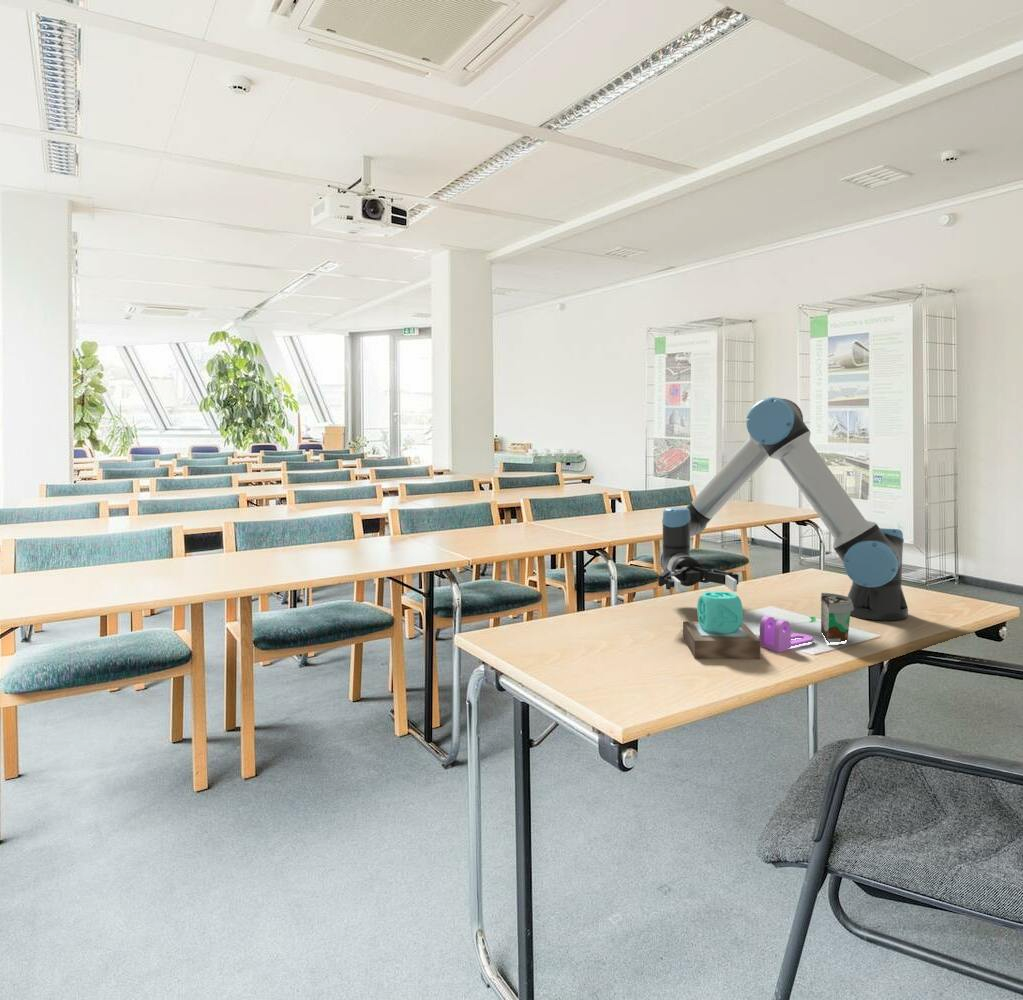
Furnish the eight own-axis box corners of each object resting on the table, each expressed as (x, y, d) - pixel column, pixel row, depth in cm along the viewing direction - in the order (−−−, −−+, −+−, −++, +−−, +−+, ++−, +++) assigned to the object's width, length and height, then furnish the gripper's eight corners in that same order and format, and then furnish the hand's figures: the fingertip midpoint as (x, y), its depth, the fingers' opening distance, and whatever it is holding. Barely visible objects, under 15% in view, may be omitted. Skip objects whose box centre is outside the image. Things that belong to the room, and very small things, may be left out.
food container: (857, 648, 170) (859, 605, 169) (828, 647, 172) (829, 604, 171) (847, 634, 182) (848, 593, 181) (820, 632, 184) (821, 592, 183)
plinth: (742, 638, 180) (742, 620, 180) (760, 658, 164) (760, 639, 164) (682, 637, 181) (683, 620, 181) (694, 658, 165) (694, 639, 165)
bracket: (778, 652, 169) (779, 622, 168) (759, 646, 174) (760, 616, 173) (818, 643, 175) (818, 614, 174) (798, 638, 180) (799, 609, 179)
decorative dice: (743, 633, 168) (743, 598, 168) (707, 634, 168) (708, 599, 167) (730, 624, 176) (730, 590, 176) (696, 625, 176) (697, 591, 175)
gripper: (730, 582, 204) (758, 600, 183) (638, 584, 204) (655, 603, 182) (731, 555, 203) (758, 570, 182) (638, 557, 203) (655, 572, 182)
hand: (707, 586), depth 182 cm, fingers open, 13 cm apart
